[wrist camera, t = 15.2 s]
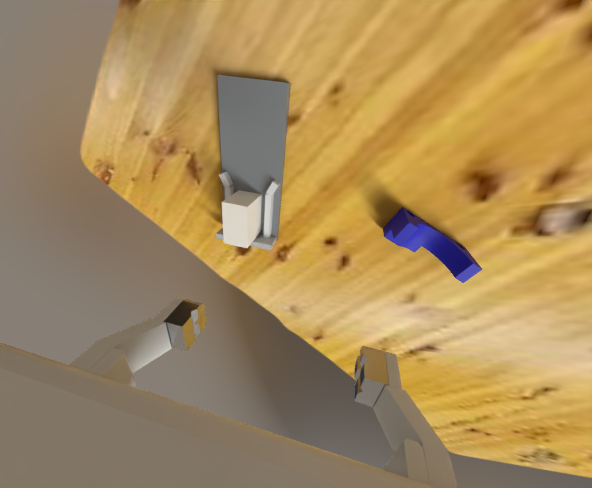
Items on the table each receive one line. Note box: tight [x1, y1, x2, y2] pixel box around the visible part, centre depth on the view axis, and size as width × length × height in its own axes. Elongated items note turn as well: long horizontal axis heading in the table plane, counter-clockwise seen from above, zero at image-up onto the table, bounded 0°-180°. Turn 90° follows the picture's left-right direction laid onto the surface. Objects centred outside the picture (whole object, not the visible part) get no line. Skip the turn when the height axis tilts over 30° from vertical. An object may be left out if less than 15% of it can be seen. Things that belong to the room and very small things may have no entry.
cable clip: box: [383, 207, 482, 283], centre depth 35 cm, size 12×4×6 cm, turn 61°
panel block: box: [222, 190, 262, 248], centre depth 38 cm, size 7×4×6 cm, turn 173°
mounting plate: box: [216, 75, 291, 250], centre depth 37 cm, size 24×10×4 cm, turn 174°
